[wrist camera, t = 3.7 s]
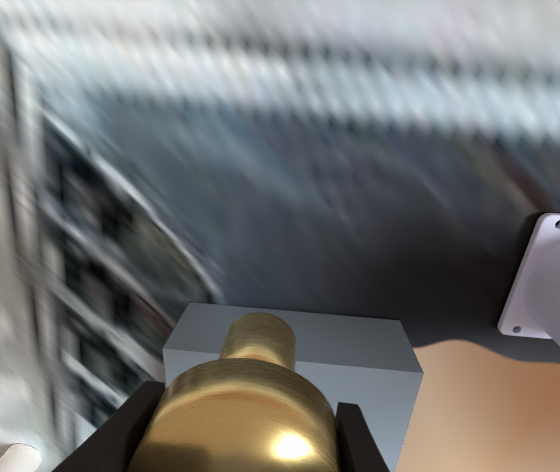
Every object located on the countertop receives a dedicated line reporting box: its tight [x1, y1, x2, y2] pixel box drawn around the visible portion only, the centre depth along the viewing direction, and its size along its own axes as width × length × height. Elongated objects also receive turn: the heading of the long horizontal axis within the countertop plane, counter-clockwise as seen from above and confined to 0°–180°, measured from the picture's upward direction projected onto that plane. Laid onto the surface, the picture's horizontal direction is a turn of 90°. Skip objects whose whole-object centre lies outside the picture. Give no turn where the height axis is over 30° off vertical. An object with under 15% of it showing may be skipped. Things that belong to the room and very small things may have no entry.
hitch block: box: [162, 302, 423, 472], centre depth 21 cm, size 14×12×4 cm
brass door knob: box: [127, 312, 342, 472], centre depth 11 cm, size 6×6×6 cm
